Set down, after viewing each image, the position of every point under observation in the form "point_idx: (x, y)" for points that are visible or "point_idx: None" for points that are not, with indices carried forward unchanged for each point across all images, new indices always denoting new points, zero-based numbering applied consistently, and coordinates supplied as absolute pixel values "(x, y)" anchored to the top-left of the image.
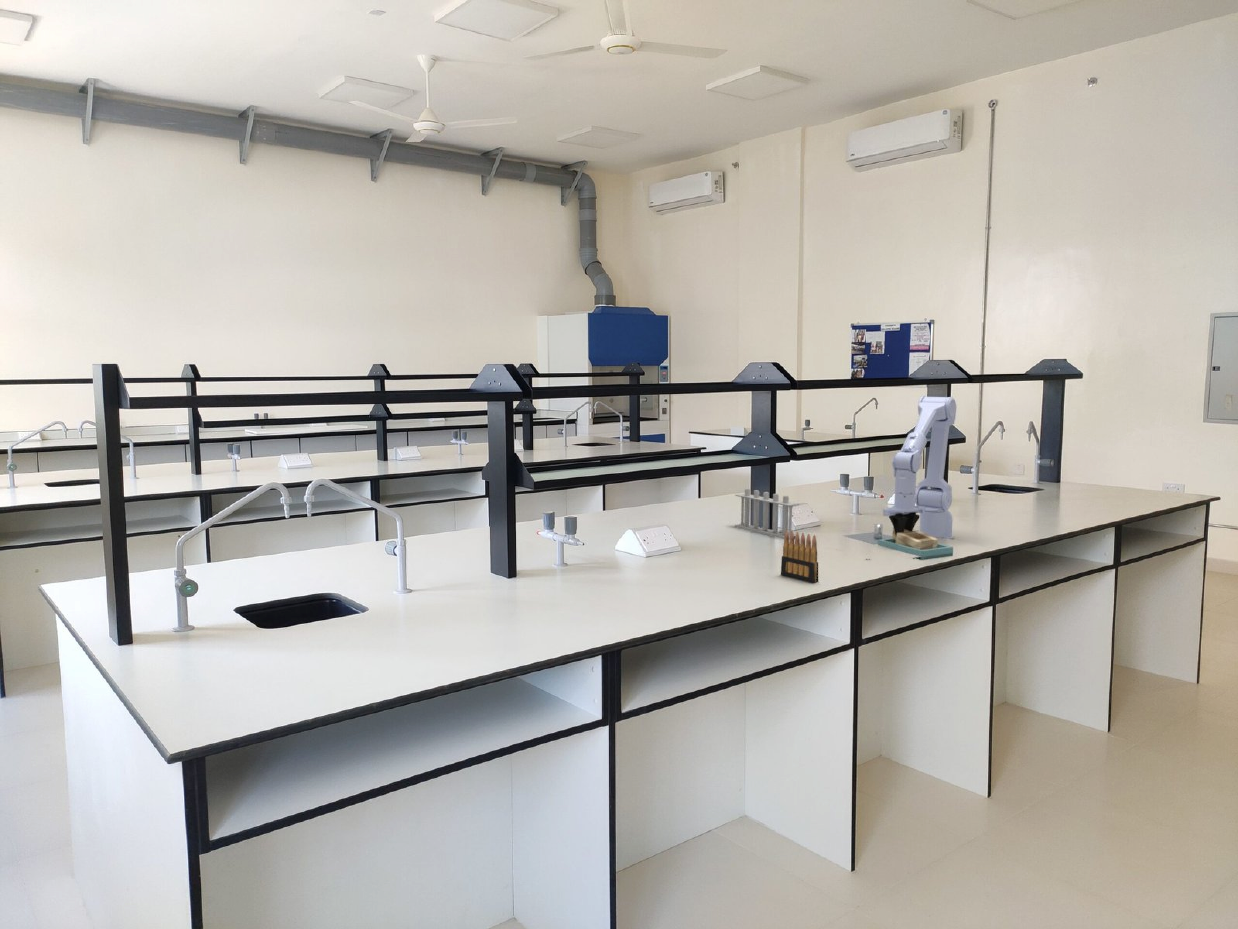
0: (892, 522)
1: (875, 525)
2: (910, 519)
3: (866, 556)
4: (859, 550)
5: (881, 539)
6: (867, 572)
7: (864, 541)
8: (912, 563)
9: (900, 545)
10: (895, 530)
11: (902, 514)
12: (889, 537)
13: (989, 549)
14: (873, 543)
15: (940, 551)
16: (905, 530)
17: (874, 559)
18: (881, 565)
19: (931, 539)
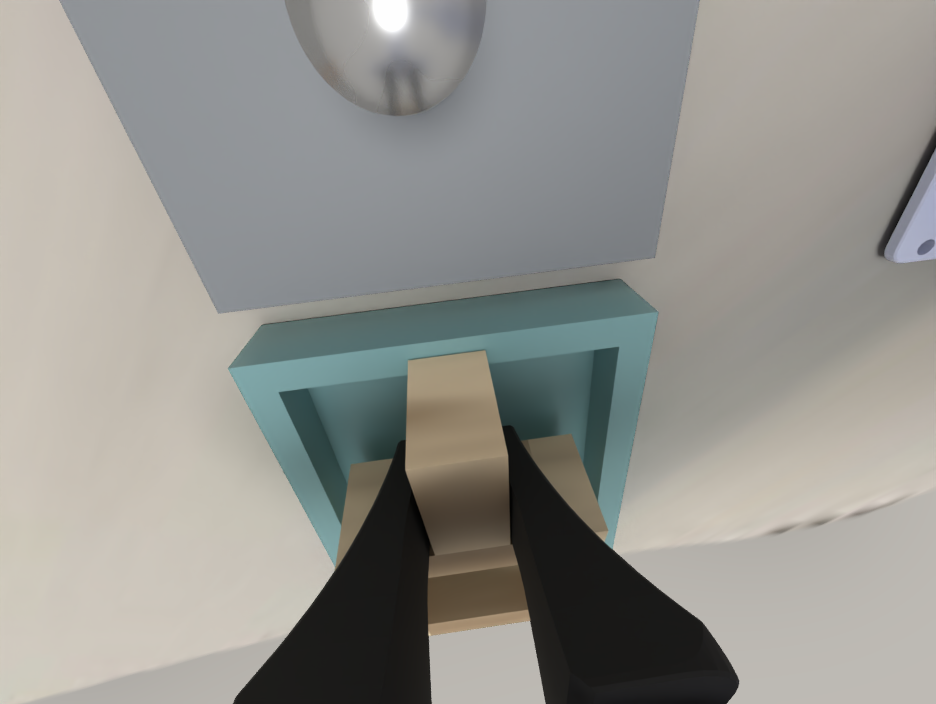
0: (317, 612)
1: (290, 11)
2: (547, 698)
3: (75, 498)
4: (47, 349)
5: (273, 364)
6: (21, 673)
7: (138, 146)
8: (301, 612)
9: (329, 548)
10: (381, 508)
11: (580, 698)
12: (613, 25)
13: (867, 499)
14: (223, 280)
15: None
16: (480, 534)
17: (116, 550)
18: (124, 620)
19: (529, 618)
